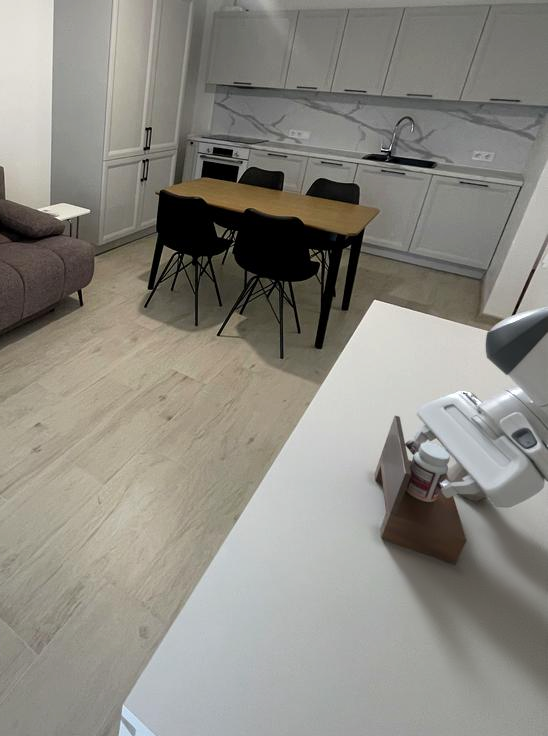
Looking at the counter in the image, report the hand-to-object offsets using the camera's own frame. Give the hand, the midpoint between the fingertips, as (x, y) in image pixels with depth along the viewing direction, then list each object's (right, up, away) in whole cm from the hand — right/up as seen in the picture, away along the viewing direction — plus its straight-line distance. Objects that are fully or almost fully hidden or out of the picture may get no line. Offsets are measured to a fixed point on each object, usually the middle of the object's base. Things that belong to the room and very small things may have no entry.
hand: (424, 469), depth 79 cm
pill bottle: (0, -4, +2) cm, 5 cm away
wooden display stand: (0, -9, +3) cm, 9 cm away
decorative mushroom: (+14, -7, +10) cm, 19 cm away
